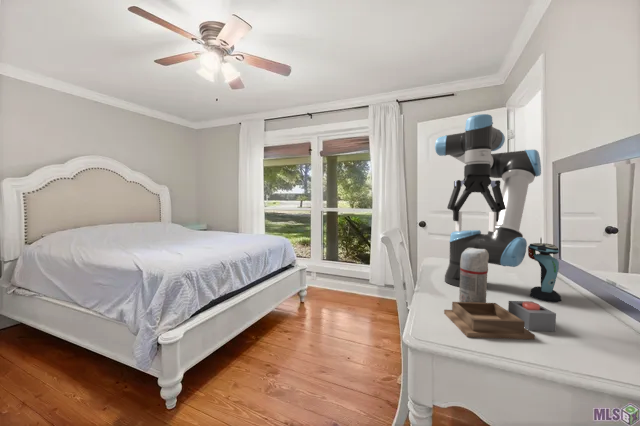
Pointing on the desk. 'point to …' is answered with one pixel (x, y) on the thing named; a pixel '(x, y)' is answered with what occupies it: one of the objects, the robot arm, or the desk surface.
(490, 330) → the walnut tray
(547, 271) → the teal power drill
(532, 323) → the control box
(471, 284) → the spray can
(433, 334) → the desk surface
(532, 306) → the button
